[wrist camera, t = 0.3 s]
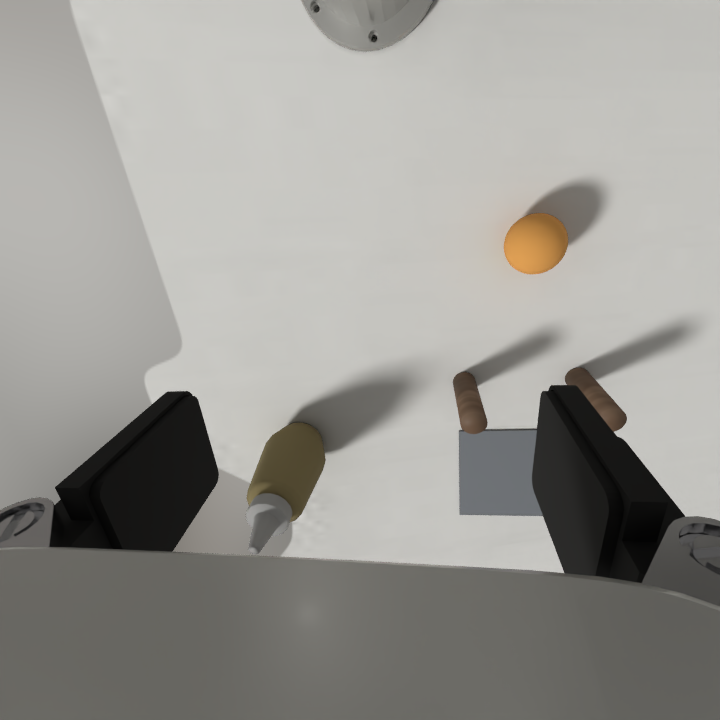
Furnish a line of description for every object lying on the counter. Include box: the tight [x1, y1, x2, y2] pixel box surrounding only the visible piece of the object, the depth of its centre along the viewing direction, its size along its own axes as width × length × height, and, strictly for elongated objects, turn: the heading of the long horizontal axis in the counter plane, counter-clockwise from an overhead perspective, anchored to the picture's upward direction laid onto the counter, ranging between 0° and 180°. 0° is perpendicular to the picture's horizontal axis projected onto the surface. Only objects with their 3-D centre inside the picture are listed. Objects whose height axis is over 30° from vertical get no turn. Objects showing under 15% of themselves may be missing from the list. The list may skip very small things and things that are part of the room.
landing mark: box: [459, 429, 543, 516], centre depth 53 cm, size 14×14×1 cm
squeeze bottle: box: [246, 422, 325, 554], centre depth 47 cm, size 8×8×18 cm
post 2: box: [565, 368, 627, 432], centre depth 42 cm, size 3×3×9 cm
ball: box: [504, 213, 568, 274], centre depth 38 cm, size 6×6×6 cm
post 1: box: [453, 372, 487, 434], centre depth 44 cm, size 3×3×9 cm
